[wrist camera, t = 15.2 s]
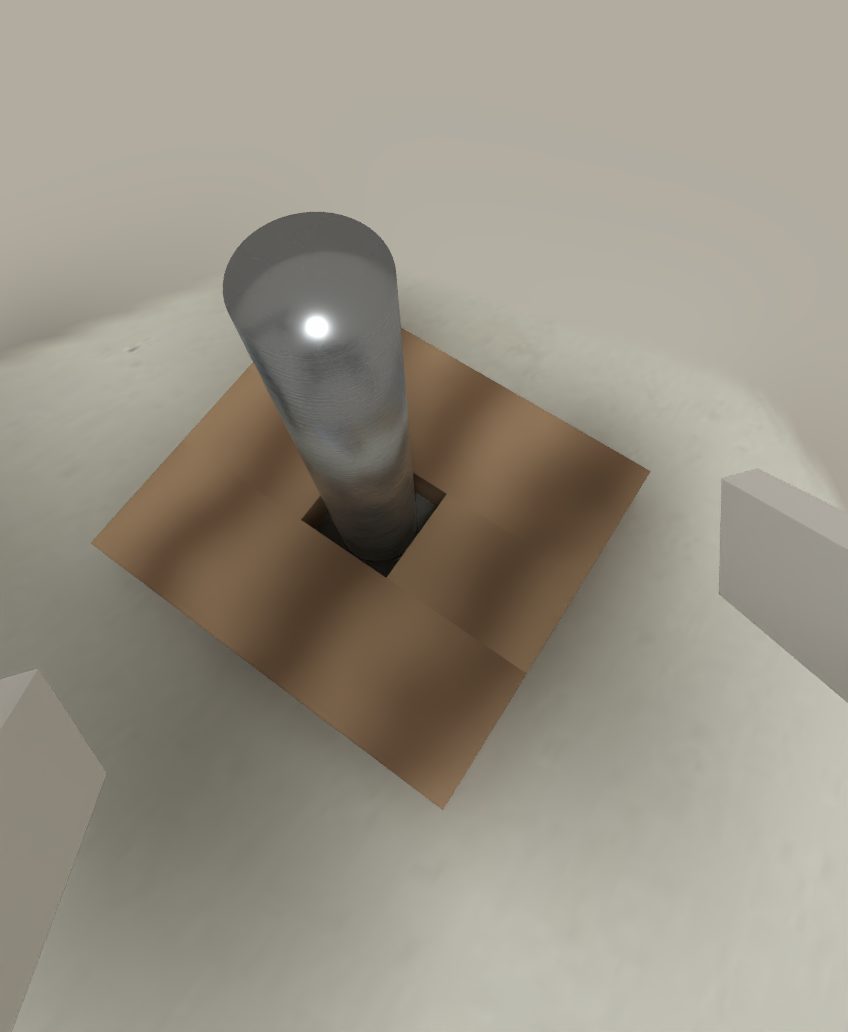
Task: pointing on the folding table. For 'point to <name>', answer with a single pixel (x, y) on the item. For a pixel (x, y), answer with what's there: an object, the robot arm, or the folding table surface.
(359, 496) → the steel peg
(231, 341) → the folding table surface
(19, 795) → the robot arm
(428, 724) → the walnut hole block
